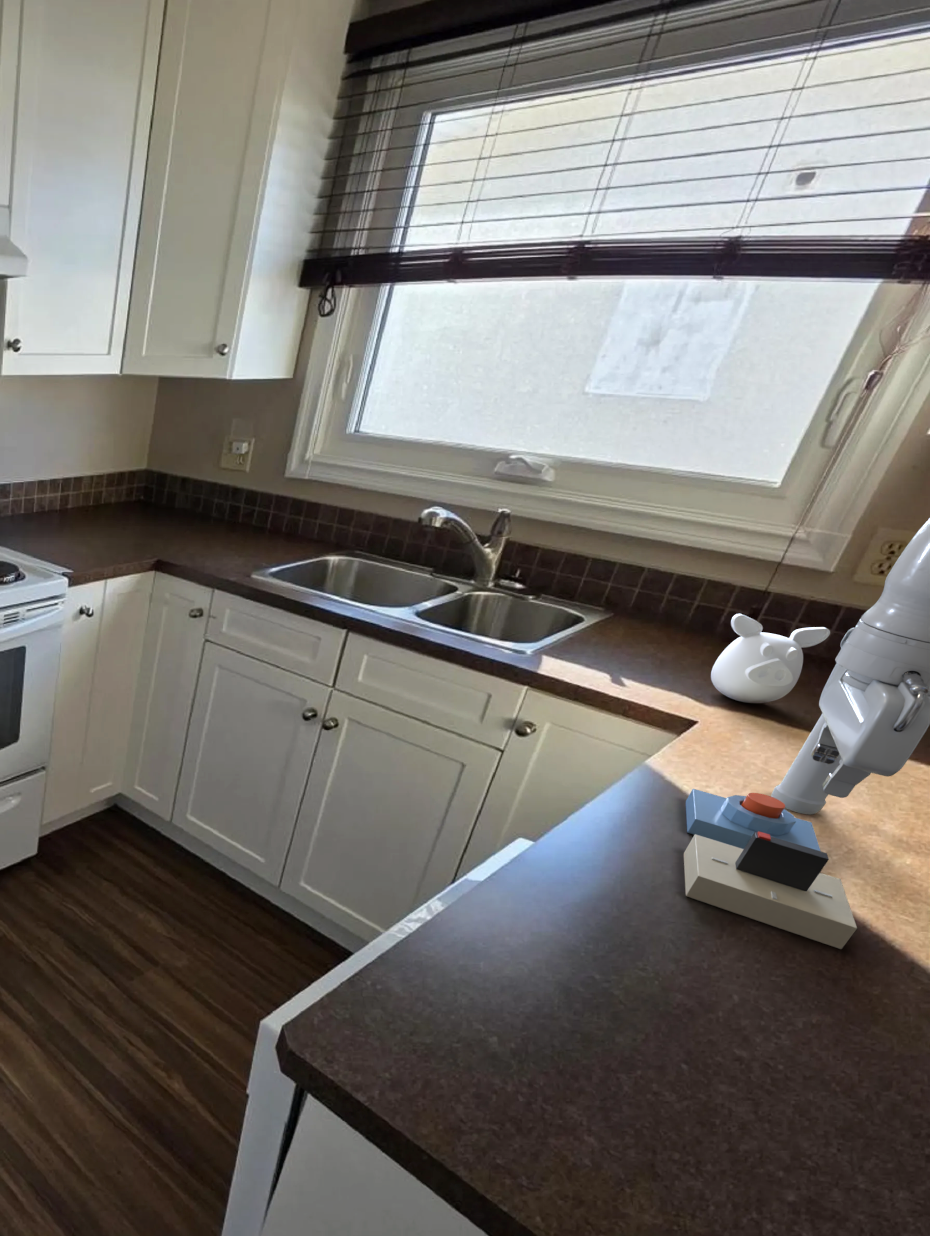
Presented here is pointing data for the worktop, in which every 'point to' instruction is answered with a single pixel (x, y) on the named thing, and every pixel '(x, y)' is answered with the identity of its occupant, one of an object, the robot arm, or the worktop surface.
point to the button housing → (742, 822)
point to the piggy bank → (762, 661)
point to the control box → (767, 894)
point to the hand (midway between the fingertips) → (826, 776)
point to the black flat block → (781, 861)
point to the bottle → (806, 778)
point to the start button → (763, 805)
